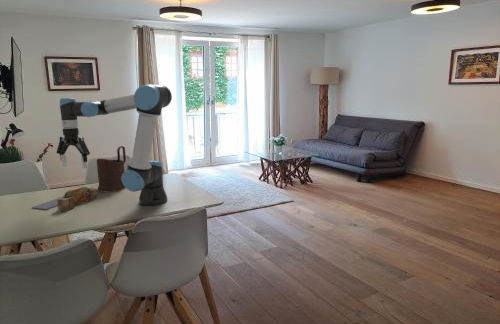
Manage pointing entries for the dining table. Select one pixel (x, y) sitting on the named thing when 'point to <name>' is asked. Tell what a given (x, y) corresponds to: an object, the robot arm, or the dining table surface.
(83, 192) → the tin
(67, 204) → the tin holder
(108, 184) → the brown tapered container
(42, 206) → the mat
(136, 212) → the dining table surface
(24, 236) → the dining table surface
